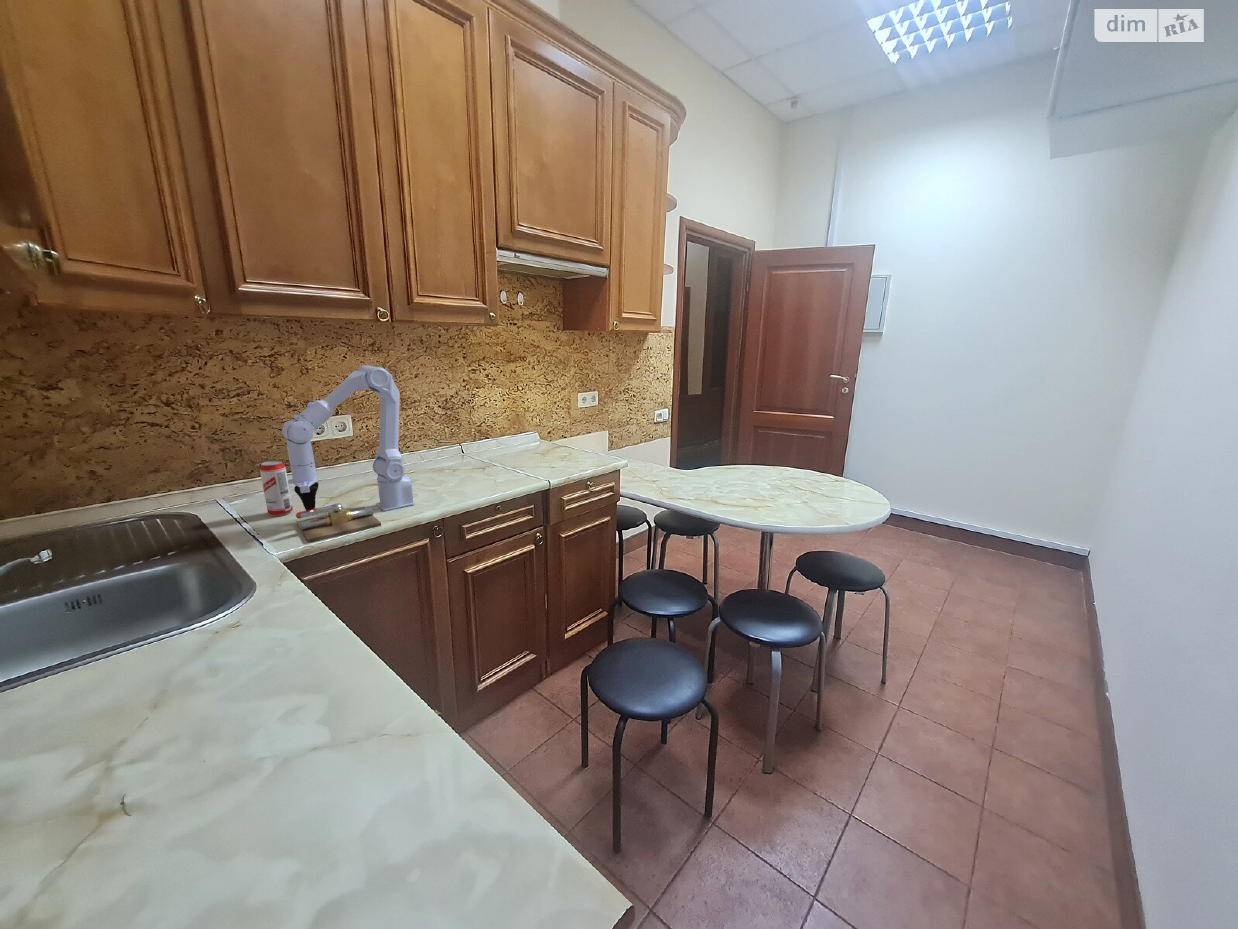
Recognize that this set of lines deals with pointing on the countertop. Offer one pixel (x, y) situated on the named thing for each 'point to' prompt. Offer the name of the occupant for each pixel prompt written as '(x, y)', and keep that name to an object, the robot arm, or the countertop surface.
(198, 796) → the countertop surface
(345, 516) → the valve body
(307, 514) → the valve lever
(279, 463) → the beer can
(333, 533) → the walnut board
